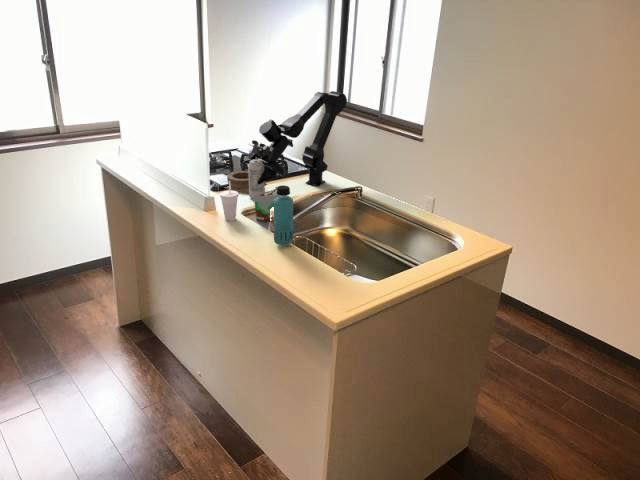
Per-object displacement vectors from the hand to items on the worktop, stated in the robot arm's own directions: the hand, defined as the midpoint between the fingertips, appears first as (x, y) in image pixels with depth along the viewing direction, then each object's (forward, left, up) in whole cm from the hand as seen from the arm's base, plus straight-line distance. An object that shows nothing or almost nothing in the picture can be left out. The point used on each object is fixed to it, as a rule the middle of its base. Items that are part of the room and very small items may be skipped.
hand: (253, 181), depth 204 cm
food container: (+14, +16, -7) cm, 22 cm away
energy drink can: (-1, +1, -7) cm, 7 cm away
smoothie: (+21, +3, -7) cm, 22 cm away
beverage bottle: (+31, +29, -7) cm, 43 cm away
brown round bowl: (-10, -11, -7) cm, 17 cm away
